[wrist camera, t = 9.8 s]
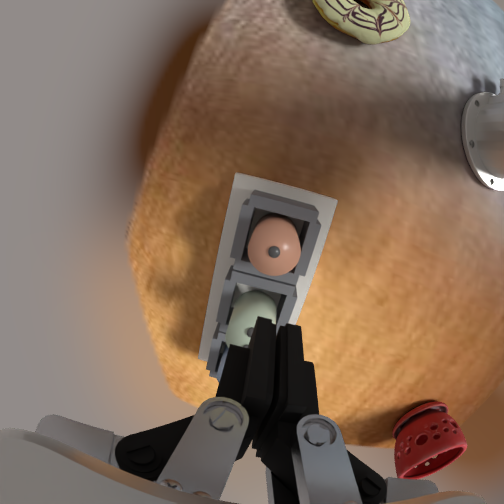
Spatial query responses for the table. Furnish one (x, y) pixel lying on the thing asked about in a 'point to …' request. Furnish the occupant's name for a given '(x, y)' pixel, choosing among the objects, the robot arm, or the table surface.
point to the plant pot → (426, 441)
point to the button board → (241, 269)
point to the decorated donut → (366, 18)
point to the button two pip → (248, 316)
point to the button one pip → (274, 245)
